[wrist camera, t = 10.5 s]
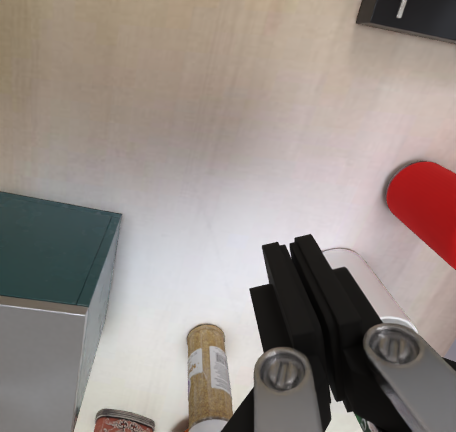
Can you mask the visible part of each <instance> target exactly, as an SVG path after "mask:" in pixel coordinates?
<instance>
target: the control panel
mask: <svg viewBox="0 0 456 432" xmlns="http://www.w3.org/2000/svg"><path fill="white" fill-rule="evenodd" d="M356 23H357V24H362V25H367V26H371V27H376V28H381V29H386V30H391V31H395V32H400V33H405V34H410V35H415V36H419V37H424V38H429V39H434V40H439V41H443V42H448V43H453V44H456V0H362V4H361V7H360V11H359V14H358V17H357V21H356Z"/></svg>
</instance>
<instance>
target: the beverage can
mask: <svg viewBox="0 0 456 432" xmlns="http://www.w3.org/2000/svg"><path fill="white" fill-rule="evenodd" d="M386 200H387V204H388V207H389V209H390V211H391V212H392V213H393V214H394V215H395V216H396V217H397V218H398V219H399V220H400V221H401V222H403V223H404V224H405V225H406V226H407V227H408V228H409V229H410V230H411V231H413V232H414V233H415V234H416V235H417V236H418V237H419V238H420V239H421V240H423V241H424V242H425V243H426V244H427V245H428V246H429V247H430V248H431V249H433V250H434V251H435V252H436V253H437V254H438V255H439V256H440V257H441V258H443V259H444V260H445V261H446V262H447V263H448V264H449V265H450V266H451V267H453V268H454V269H455V270H456V174H455V173H453V172H452V171H450V170H448V169H446V168H444V167H442V166H440V165H438V164H436V163H433V162H427V161H420V162H414V163H411V164H409V165H407V166H405V167H403V168H402V169H401V170H399V171H398V172H397V173H396V174H395V175H394V176H393V178H392V179H391V181H390V183H389V185H388V187H387V191H386Z"/></svg>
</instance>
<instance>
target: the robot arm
mask: <svg viewBox="0 0 456 432" xmlns="http://www.w3.org/2000/svg"><path fill="white" fill-rule="evenodd" d="M294 241H295V242H294V243H290V252H291V257H290V254H289V252H288V250H287V248H286V246H285V245H281V246H279V243H278V242H275V243H270V244H266V245H262V250H263V255H264V260H265V264H266V269H267V274H268V279H269V284H267V285H262V286H258V287H254V288H249V290H250V294H251V298H252V303H253V307H254V312H255V316H256V321H257V325H258V329H259V334H260V338H261V343H262V347H263V351H264V354H263V355H262V356H261V357H259V359H258V361H257V362H256V364H255V368H254V387H253V389H252V390H251V391H250V393H249V394H248V395H247V397H246V398H245V399H244V401H243V402H242V403H241V405H240V406H239V407H238V409H237V410H236V411H235V413H234V414H233V416H232V417H231V418H230V420H229V421H228V422H227V424H226V425H225V426H224V428H223V429H222V430H221V432H325V430H326V428H327V427H328V425H329V423H330V421H331V412H330V404H329V403H331V397H330V389H329V385H330V388H331V390H332V393H333V396H334V398H335V400H336V402H338V401H343V403H344V405H345V408H346V410H347V412H352V411H354V414H355V415H357V416H359V417H361V418H363V419H365V420H367V424H368V426H369V428H370V430H371V432H456V362H454V361H451V360H449V359H446V358H443V357H441V356H440V355H439V354H438V353H437V352H436V351H435V350H434V349H433V348H432V347H431V346H430V345H429V344H428V343H427V342H426V341H425V340H424V339H423V338H422V337H421V336H420V335H419V334H417V333H416V332H415V331H414V330H412V329H410V328H408V327H406V326H404V325H400V324H396V323H383V322H382V320H381V319H380V317H379V316H378V314H377V313H376V311H375V310H374V308H373V307H372V305H371V304H370V302H369V300H368V299H367V297H366V296H365V294H364V293H363V291H362V290H361V288H360V287H359V285H358V284H357V282H356V281H355V279H354V278H353V276H352V275H351V273H350V272H349V270H348V269H347V268H346V267H340V268H336V269H332V268H331V266H330V265H329V263H328V261H327V260H326V258H325V256H324V255H323V253H322V251H321V250H320V248H319V246H318V244H317V243H316V241H315V239H314V238H313V236H312V235H311V234H309V235H305V236H300V237H296V238H295V240H294ZM291 258H292V259H291Z"/></svg>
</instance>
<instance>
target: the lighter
mask: <svg viewBox="0 0 456 432" xmlns="http://www.w3.org/2000/svg"><path fill="white" fill-rule="evenodd" d="M95 424H96V425H95V429H94V432H154V425H155V424H154V421H152V420H150V419H148V418H145V417H143V416H140V415H137V414H133V413H130V412H125V411H120V410H111V409H103V410H100V411H99V412H98V413H97V415H96V419H95Z"/></svg>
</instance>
